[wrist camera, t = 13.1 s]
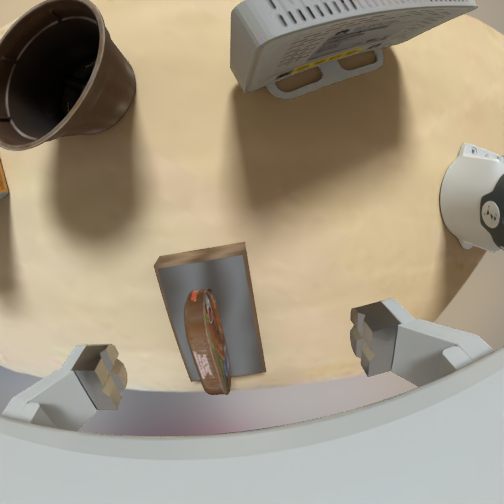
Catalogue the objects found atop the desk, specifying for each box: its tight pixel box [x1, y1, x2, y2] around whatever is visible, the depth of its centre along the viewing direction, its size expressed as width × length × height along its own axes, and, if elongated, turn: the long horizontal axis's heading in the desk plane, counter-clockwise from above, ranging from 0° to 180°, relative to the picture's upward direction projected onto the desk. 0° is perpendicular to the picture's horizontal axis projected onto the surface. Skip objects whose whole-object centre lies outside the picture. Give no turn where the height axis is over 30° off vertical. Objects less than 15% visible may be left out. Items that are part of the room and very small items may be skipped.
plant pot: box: [0, 0, 135, 151], centre depth 25 cm, size 16×16×16 cm
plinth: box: [154, 242, 266, 382], centre depth 42 cm, size 12×20×4 cm, turn 8°
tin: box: [184, 288, 231, 395], centre depth 36 cm, size 15×3×8 cm, turn 8°
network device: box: [230, 0, 478, 99], centre depth 24 cm, size 26×9×20 cm, turn 116°
